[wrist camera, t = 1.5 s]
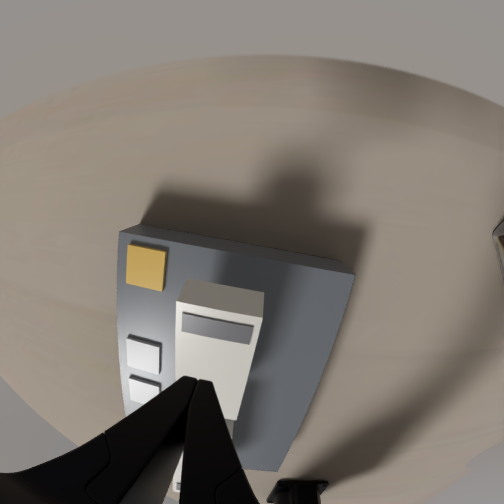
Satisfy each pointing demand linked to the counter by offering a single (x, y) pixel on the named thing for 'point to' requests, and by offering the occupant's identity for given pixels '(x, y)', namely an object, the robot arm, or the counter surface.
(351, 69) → the counter surface
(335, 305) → the switch unit
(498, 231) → the coffee box
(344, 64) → the counter surface
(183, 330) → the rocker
